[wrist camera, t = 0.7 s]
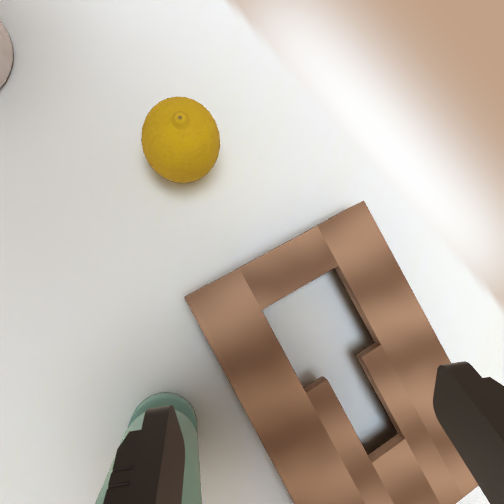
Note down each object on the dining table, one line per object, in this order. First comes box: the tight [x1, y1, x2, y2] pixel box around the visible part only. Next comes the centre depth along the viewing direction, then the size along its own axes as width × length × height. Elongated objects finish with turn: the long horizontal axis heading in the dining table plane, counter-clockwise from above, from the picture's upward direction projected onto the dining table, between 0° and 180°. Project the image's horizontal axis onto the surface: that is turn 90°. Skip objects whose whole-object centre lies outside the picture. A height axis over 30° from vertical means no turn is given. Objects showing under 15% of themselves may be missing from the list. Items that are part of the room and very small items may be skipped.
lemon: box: [141, 97, 220, 183], centre depth 26 cm, size 6×6×8 cm
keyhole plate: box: [185, 201, 478, 504], centre depth 29 cm, size 24×16×3 cm, turn 28°
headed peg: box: [95, 393, 202, 504], centre depth 20 cm, size 5×5×16 cm
